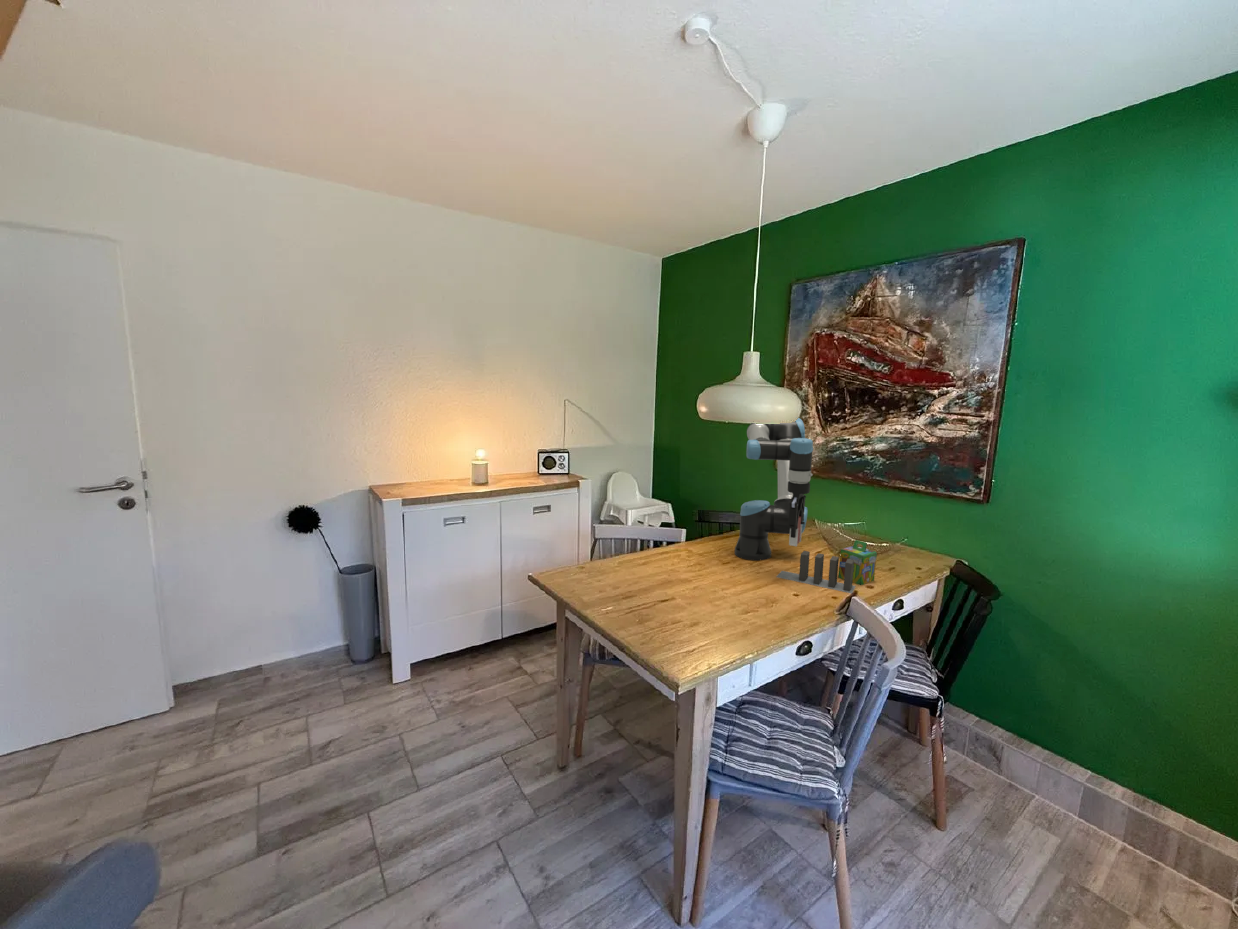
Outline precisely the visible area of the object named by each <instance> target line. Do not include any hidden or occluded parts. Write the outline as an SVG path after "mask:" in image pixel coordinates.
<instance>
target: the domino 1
mask: <svg viewBox="0 0 1238 929" xmlns="http://www.w3.org/2000/svg"><path fill="white" fill-rule="evenodd" d="M800 526H801V516H799V519H798V528H797V529H798V540H797V546H798V544H799V543H800V542H799V540H800Z"/></svg>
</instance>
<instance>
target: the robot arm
mask: <svg viewBox="0 0 1238 929" xmlns="http://www.w3.org/2000/svg"><path fill="white" fill-rule="evenodd" d="M797 418H798V419H797V420H796V421H795V422H792V423H780V424H756V423H752V422H751V423H750V424H749V425H748V426H747V429H746V436H747V439H748V440H747V443H746V458H747V459H749V460H754V461H758V460H759V461H760V460H761V461H763V460H765V461H767V460H769V461H777V498H776V499H775V500H774V502H773V504H771V503H770V502H769V501H768V500H762V499H761V500H759V499H755V500H749V501H746V502H744V503H743V504H742V505H741V506H740V513H739V516H740V520H739V521H740V522H739V537H738V539H737V542H736V545H735V547H734V555H735V556H736V557H737V558H741V559H744V560H748V561H756V562H757V561H766V560H768V559H770V558H771V557H772V548H771V545H770V543H769V534H770V533H772V534H783V535H786V534H787V535H789V537H788V546H790V547H791V546H793V547H798V545H797V540H798V529H797V528H798V519H799V516H801V526H800V540H799V543H801V542H802V534H803V533H804V532H805V529H806V524H807V520H808V512H809V511H808V507H806V498H807V496H806V495H807V494H809V493H810V491H811V483H810V481H811V479H812V478H811V477H813V473H812V461H813V451H814V442H813V440H812V439H811V438H807V437H806V428H805V424H804V421H803V420H802V419H801V418H799V417H797Z"/></svg>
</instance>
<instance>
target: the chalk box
mask: <svg viewBox="0 0 1238 929" xmlns="http://www.w3.org/2000/svg"><path fill="white" fill-rule="evenodd" d="M859 545H861V546H859ZM867 546H868V542H866V541H861V540H857V539H855V540H854V541H853V545H852V546H848V547H843V548H841V549H840V555H839V556H840V557H839V562H838V575H837V579H840V580H843V581H844V575H845V563H846V561H847V559H853V560H854V569H853V581H852V584H856V585H858V586H863V585H866V584H868V583H871V582H874V581H875V577H876V576H875V574H876V566H877V557H878V552H877V551H875V550H872V549H868V548H867Z"/></svg>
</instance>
